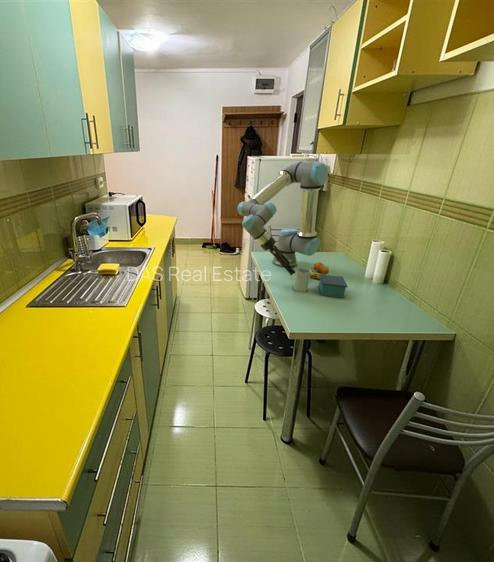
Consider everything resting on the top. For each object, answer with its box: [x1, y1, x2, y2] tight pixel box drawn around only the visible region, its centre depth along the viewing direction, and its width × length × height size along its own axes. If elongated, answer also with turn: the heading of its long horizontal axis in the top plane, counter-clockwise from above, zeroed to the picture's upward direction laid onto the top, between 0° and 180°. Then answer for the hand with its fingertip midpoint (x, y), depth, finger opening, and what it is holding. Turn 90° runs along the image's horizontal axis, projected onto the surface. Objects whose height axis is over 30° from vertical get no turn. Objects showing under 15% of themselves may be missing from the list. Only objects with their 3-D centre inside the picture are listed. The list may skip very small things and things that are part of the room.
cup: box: [292, 267, 311, 293], centre depth 165 cm, size 7×7×11 cm
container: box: [318, 274, 348, 298], centre depth 163 cm, size 13×12×7 cm
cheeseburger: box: [309, 261, 330, 280], centre depth 182 cm, size 10×11×10 cm
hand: (290, 268), depth 163 cm, fingers open, 13 cm apart
